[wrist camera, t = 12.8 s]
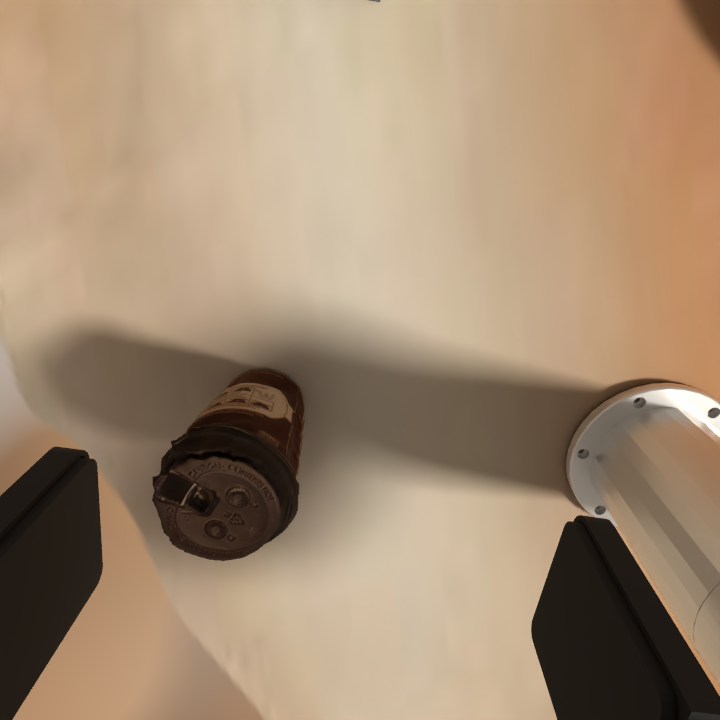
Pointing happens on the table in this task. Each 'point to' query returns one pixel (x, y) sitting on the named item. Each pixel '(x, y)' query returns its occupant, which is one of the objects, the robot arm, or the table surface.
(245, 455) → the coffee cup
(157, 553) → the table surface
